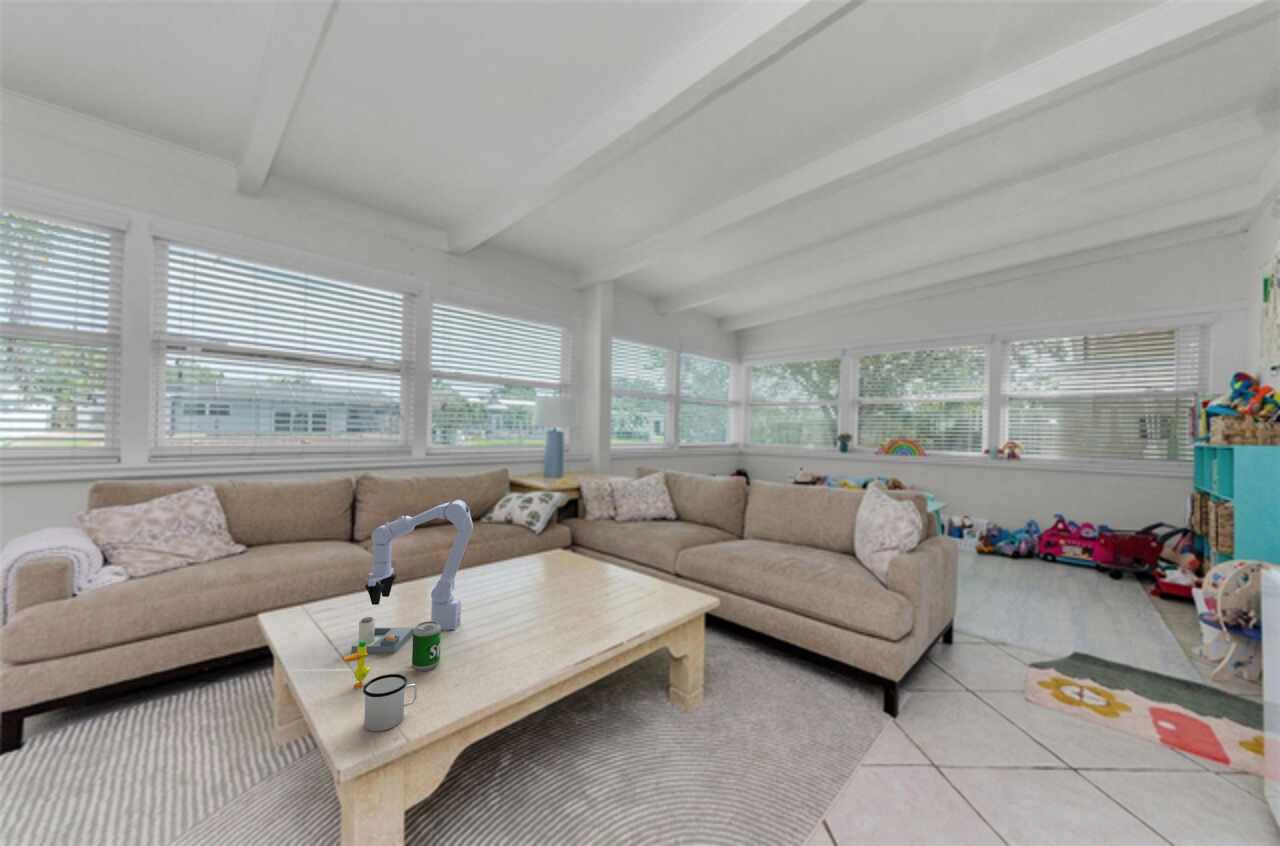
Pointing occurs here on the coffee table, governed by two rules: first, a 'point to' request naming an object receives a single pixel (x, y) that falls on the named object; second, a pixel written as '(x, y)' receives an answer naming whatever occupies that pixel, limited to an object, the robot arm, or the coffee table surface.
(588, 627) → the coffee table surface
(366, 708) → the mug
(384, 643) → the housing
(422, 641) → the soda can
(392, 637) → the plunger
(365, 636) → the cylinder
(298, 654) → the coffee table surface
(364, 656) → the toy figure
